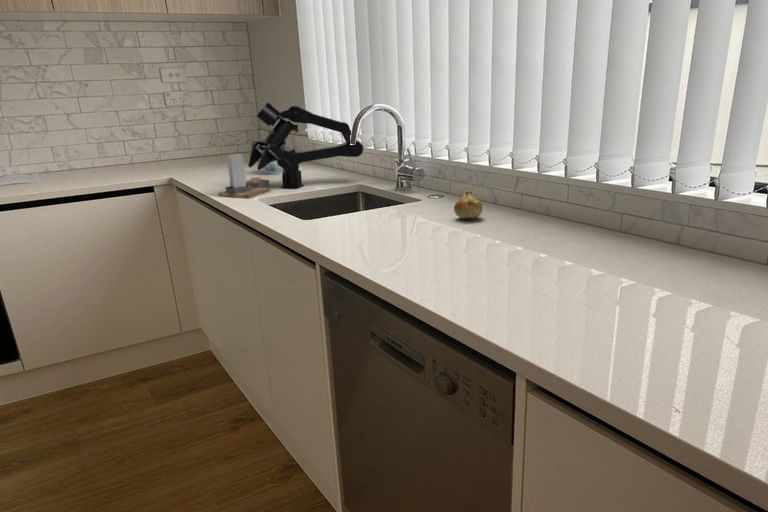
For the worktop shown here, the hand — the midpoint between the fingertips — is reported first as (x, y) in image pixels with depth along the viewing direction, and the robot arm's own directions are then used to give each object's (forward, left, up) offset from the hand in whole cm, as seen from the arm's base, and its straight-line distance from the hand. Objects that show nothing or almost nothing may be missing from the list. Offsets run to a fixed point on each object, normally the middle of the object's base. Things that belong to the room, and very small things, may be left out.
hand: (253, 168), depth 208 cm
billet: (+3, +6, -8) cm, 10 cm away
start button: (+6, -8, -8) cm, 12 cm away
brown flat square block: (+2, +4, -9) cm, 10 cm away
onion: (-86, +17, -9) cm, 88 cm away
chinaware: (+19, -39, -9) cm, 44 cm away
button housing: (+6, -8, -9) cm, 13 cm away
